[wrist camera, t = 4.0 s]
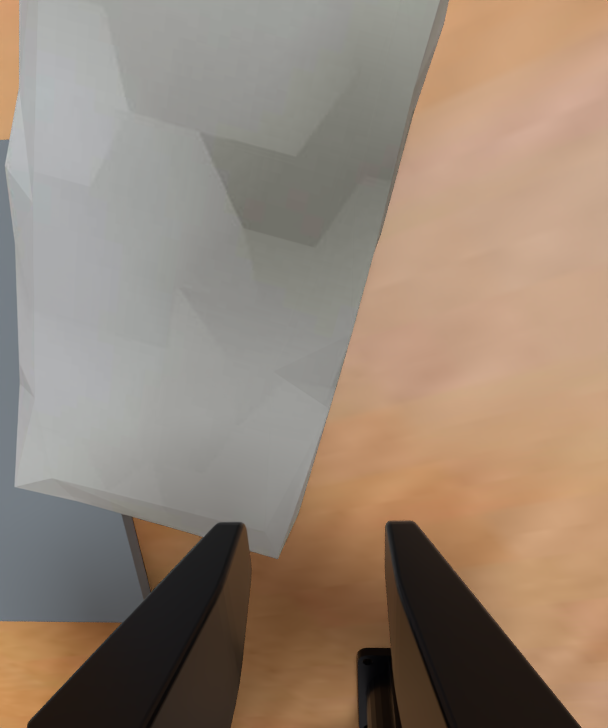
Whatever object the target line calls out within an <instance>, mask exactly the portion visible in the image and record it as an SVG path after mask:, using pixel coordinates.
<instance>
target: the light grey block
mask: <svg viewBox="0 0 608 728" xmlns="http://www.w3.org/2000/svg"><path fill="white" fill-rule="evenodd" d="M448 2H449V0H19V91H18V97H17V102H16V108H15V113H14V118H13V124H12V129H11V135H10V140H9V146H8V151H7V157H6V162H5V171H6V179H7V186H8V194H9V202H10V210H11V217H12V225H13V233H14V240H15V259H16V288H17V317H18V346H19V377H20V387H19V407H18V427H17V447H16V467H15V486H14V487H17V488H21V489H25V490H30V491H34V492H39V493H43V494H47V495H52V496H56V497H61V498H65V499H69V500H74V501H78V502H82V503H85V504H89V505H92V506H96V507H99V508H103V509H107V510H110V511H114V512H117V513H121V514H124V515H128V516H131V517H135V518H138V519H142V520H146V521H149V522H153V523H156V524H160V525H163V526H167V527H170V528H174V529H178V530H181V531H185V532H188V533H191V534H195V535H198V536H201V537H204V536H205V535H206V534H207V533H208V532H209V530H210V529H211V528H212V527H213V526H214V525H215V524H217V523H219V522H242V523H244V524H245V526H246V529H247V535H248V542H249V550H250V551H252V552H255V553H259V554H262V555H265V556H269V557H272V558H275V559H278V558H279V555H280V553H281V551H282V549H283V547H284V544H285V542H286V540H287V538H288V536H289V533H290V531H291V529H292V527H293V525H294V522H295V520H296V518H297V516H298V513H299V510H300V507H301V503H302V500H303V497H304V493H305V490H306V486H307V483H308V480H309V476H310V473H311V470H312V466H313V463H314V460H315V456H316V453H317V450H318V446H319V443H320V440H321V436H322V433H323V429H324V426H325V423H326V419H327V416H328V413H329V409H330V406H331V403H332V399H333V396H334V392H335V389H336V386H337V382H338V379H339V376H340V372H341V369H342V366H343V362H344V359H345V355H346V352H347V348H348V345H349V341H350V338H351V334H352V330H353V327H354V323H355V320H356V316H357V312H358V309H359V305H360V301H361V298H362V294H363V290H364V287H365V283H366V279H367V276H368V272H369V268H370V265H371V261H372V257H373V254H374V251H375V248H376V246H377V243H378V240H379V238H380V235H381V232H382V228H383V224H384V221H385V217H386V213H387V209H388V206H389V202H390V198H391V195H392V191H393V187H394V183H395V180H396V176H397V172H398V168H399V165H400V161H401V157H402V154H403V150H404V146H405V142H406V139H407V135H408V131H409V128H410V124H411V120H412V116H413V113H414V110H415V107H416V104H417V101H418V98H419V95H420V93H421V90H422V87H423V84H424V81H425V78H426V75H427V72H428V69H429V66H430V63H431V60H432V57H433V54H434V51H435V48H436V45H437V42H438V40H439V37H440V34H441V31H442V28H443V25H444V21H445V16H446V11H447V7H448Z"/></svg>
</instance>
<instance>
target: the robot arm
mask: <svg viewBox="0 0 608 728" xmlns="http://www.w3.org/2000/svg"><path fill="white" fill-rule="evenodd" d="M251 571H252V568H251V557H250V550H249V542H248V535H247V529H246V526H245V524H244V523H242V522H219V523H217V524H215V525H214V526H213V527H212V528H211V529H210V530H209V532H208V533H207V534H206V535H205V536H204V537H203V538H202V539H201V540H200V541H199V542H198V543H197V544H196V545H195V546H194V547H193V548H192V549H191V551H190V552H189V553H188V554H187V555H186V556H185V557H184V558H183V559H182V560H181V561H180V562H179V563H178V564H177V565H176V566H175V567H174V569H173V570H172V571H171V572H170V573H169V574H168V575H167V576H166V577H165V578H164V579H163V580H162V581H161V582H160V583H159V584H158V585H157V586H156V588H155V589H154V590H153V591H152V592H151V593H150V594H149V595H148V596H147V597H146V598H145V599H144V600H143V601H142V602H141V603H140V604H139V606H138V607H137V608H136V609H135V610H134V611H133V612H132V613H131V614H130V615H129V616H128V617H127V618H126V619H125V620H124V621H123V622H122V624H121V625H120V626H119V627H118V628H117V629H116V630H115V631H114V632H113V633H112V634H111V635H110V636H109V637H108V638H107V639H106V640H105V641H104V643H103V644H102V645H101V646H100V647H99V648H98V649H97V650H96V651H95V652H94V653H93V654H92V655H91V656H90V657H89V658H88V659H87V661H86V662H85V663H84V664H83V665H82V666H81V667H80V668H79V669H78V670H77V671H76V672H75V673H74V674H73V675H72V676H71V677H70V678H69V680H68V681H67V682H66V683H65V684H64V685H63V686H62V687H61V688H60V689H59V690H58V691H57V692H56V693H55V694H54V695H53V696H52V698H51V699H50V700H49V701H48V702H47V703H46V704H45V705H44V706H43V707H42V708H41V709H40V710H39V711H38V712H37V713H36V714H35V716H34V717H33V718H32V719H31V720H30V721H29V722H28V724H27V728H231V723H232V719H233V714H234V709H235V705H236V700H237V694H238V689H239V684H240V676H241V668H242V660H243V651H244V641H245V632H246V623H247V613H248V604H249V595H250V585H251ZM385 580H386V593H387V605H388V618H389V630H390V643H391V648H363V649H361V650H360V651H359V652H358V699H359V728H581V726H580V725H579V724H578V723H577V721H576V720H575V719H574V718H573V716H572V715H571V714H570V713H569V711H568V710H567V709H566V708H565V707H564V705H563V704H562V703H561V702H560V700H559V699H558V698H557V697H556V695H555V694H554V693H553V692H552V690H551V689H550V688H549V687H548V686H547V684H546V683H545V682H544V681H543V679H542V678H541V677H540V676H539V674H538V673H537V672H536V671H535V670H534V668H533V667H532V666H531V665H530V663H529V662H528V661H527V660H526V658H525V657H524V656H523V655H522V653H521V652H520V651H519V650H518V649H517V647H516V646H515V645H514V644H513V642H512V641H511V640H510V639H509V637H508V636H507V635H506V634H505V633H504V631H503V630H502V629H501V628H500V626H499V625H498V624H497V623H496V621H495V620H494V619H493V618H492V616H491V615H490V614H489V613H488V612H487V610H486V609H485V608H484V607H483V605H482V604H481V603H480V602H479V600H478V599H477V598H476V597H475V596H474V594H473V593H472V592H471V591H470V589H469V588H468V587H467V586H466V584H465V583H464V582H463V581H462V579H461V578H460V577H459V576H458V575H457V573H456V572H455V571H454V570H453V568H452V567H451V566H450V565H449V563H448V562H447V561H446V560H445V559H444V557H443V556H442V555H441V554H440V552H439V551H438V550H437V549H436V547H435V546H434V545H433V544H432V542H431V541H430V540H429V539H428V538H427V536H426V535H425V534H424V533H423V531H422V530H421V529H420V528H419V526H418V525H417V524H416V523H415V522H413V521H388V522H387V523H386V525H385Z"/></svg>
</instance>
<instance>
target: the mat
mask: <svg viewBox="0 0 608 728" xmlns="http://www.w3.org/2000/svg"><path fill="white" fill-rule="evenodd" d="M8 146H9V140H0V621H37V622H123V621H124V620H125V619H126V618H127V617H128V616H129V615H130V614H131V613H132V612H133V611H134V610H135V609H136V608H137V607H138V606H139V604H140V603H141V602H142V601H143V600H144V599H145V598H146V597H147V596H148V595H149V594H150V593H151V591H150V587H149V583H148V580H147V576H146V572H145V568H144V564H143V560H142V556H141V552H140V548H139V544H138V540H137V536H136V532H135V528H134V524H133V520H132V517H131V516H128V515H124V514H121V513H117V512H114V511H110V510H107V509H103V508H99V507H96V506H92V505H89V504H85V503H82V502H78V501H74V500H69V499H65V498H61V497H56V496H52V495H47V494H43V493H39V492H34V491H30V490H25V489H21V488H17V487H14V486H15V467H16V447H17V427H18V407H19V387H20V377H19V346H18V317H17V288H16V259H15V240H14V233H13V225H12V217H11V210H10V202H9V194H8V186H7V179H6V171H5V162H6V157H7V151H8Z"/></svg>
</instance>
